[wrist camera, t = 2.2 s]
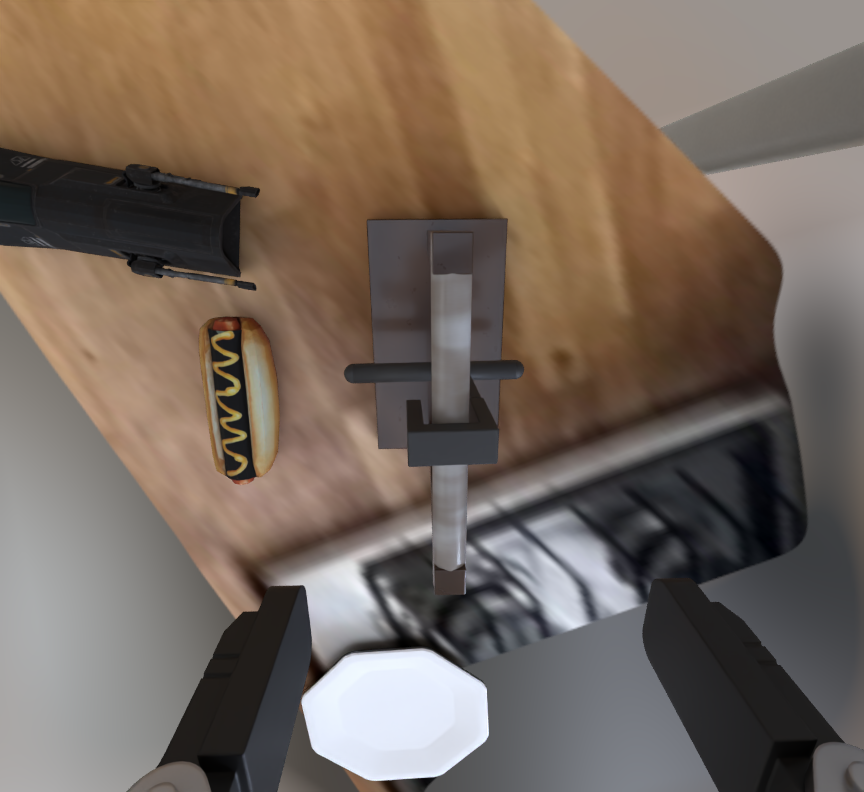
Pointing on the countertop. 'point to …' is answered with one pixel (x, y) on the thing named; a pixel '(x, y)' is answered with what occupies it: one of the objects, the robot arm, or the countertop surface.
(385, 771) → the plate
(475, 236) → the rail stand
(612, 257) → the countertop surface
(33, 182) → the black toy vehicle
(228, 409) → the hot dog
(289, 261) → the countertop surface
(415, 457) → the hanger
